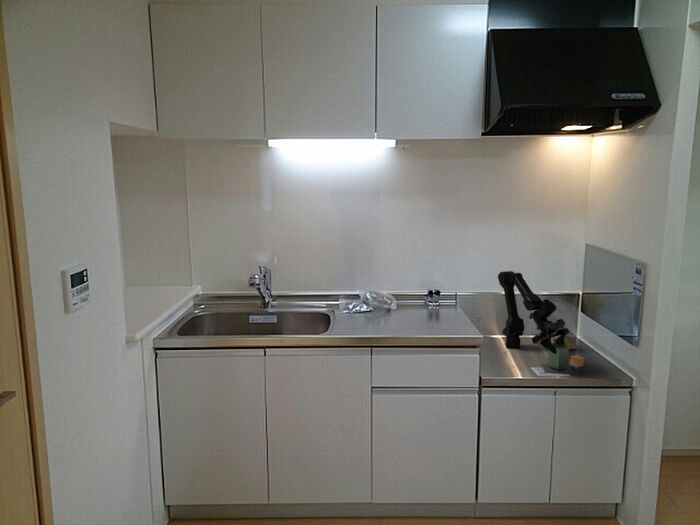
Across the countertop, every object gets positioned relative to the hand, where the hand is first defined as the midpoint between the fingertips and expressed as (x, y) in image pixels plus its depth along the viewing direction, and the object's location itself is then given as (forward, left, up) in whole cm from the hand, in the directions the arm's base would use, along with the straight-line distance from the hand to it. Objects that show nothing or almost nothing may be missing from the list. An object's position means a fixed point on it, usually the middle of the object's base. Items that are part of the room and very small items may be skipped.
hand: (560, 352), depth 219 cm
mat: (-1, +1, -8) cm, 9 cm away
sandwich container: (+8, +33, -9) cm, 35 cm away
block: (+9, +8, -9) cm, 15 cm away
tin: (-1, +1, -7) cm, 7 cm away
